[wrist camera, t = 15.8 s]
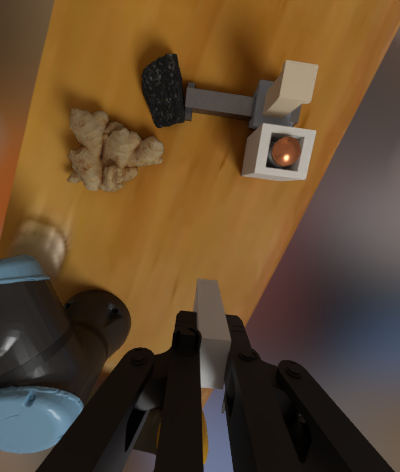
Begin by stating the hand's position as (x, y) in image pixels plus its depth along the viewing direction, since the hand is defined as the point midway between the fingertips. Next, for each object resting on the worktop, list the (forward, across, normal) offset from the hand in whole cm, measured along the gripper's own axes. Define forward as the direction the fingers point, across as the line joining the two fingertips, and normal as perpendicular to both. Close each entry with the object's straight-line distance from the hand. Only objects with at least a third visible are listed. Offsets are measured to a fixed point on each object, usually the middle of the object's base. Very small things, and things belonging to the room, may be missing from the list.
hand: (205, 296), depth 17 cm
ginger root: (+30, -18, +11) cm, 36 cm away
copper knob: (+25, +11, +14) cm, 31 cm away
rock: (+30, -8, +23) cm, 39 cm away
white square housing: (+29, +11, +14) cm, 35 cm away
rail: (+29, +5, +22) cm, 37 cm away
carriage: (+29, +10, +22) cm, 38 cm away
